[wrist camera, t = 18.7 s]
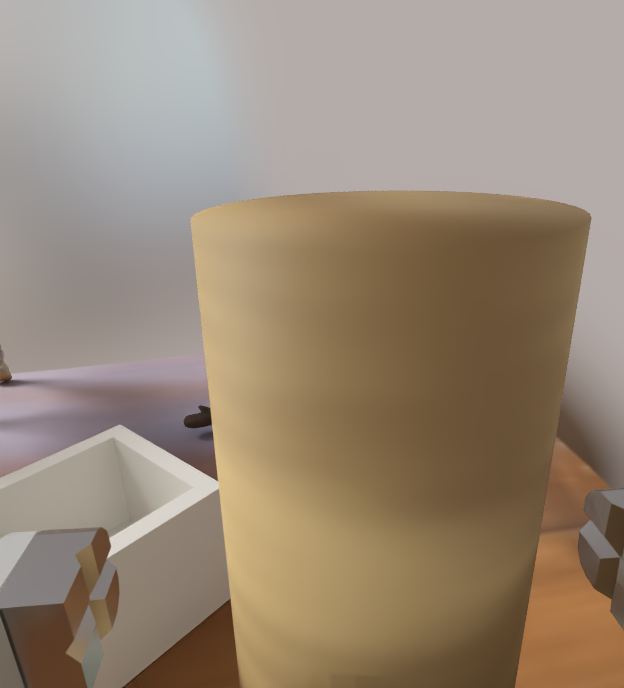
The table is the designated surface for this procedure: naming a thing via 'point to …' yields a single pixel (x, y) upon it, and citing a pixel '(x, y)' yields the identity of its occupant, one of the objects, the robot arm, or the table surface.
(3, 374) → the horse figurine
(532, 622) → the table surface
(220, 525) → the white square box
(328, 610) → the dowel
